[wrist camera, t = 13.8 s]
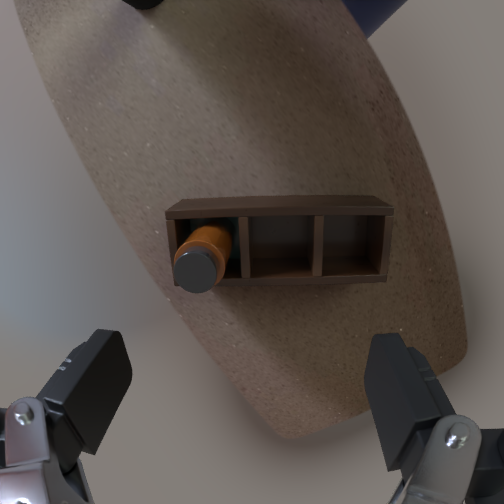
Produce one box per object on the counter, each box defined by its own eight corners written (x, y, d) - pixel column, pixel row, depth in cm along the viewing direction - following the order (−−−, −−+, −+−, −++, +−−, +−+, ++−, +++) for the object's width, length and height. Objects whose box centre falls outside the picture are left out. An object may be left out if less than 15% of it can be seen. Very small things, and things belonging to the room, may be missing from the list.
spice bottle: (195, 215, 31) (164, 247, 21) (235, 213, 31) (220, 246, 21) (199, 253, 32) (171, 298, 23) (237, 252, 32) (224, 298, 22)
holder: (181, 199, 31) (164, 210, 26) (374, 195, 30) (394, 206, 25) (188, 264, 33) (174, 286, 28) (369, 260, 32) (386, 282, 27)
